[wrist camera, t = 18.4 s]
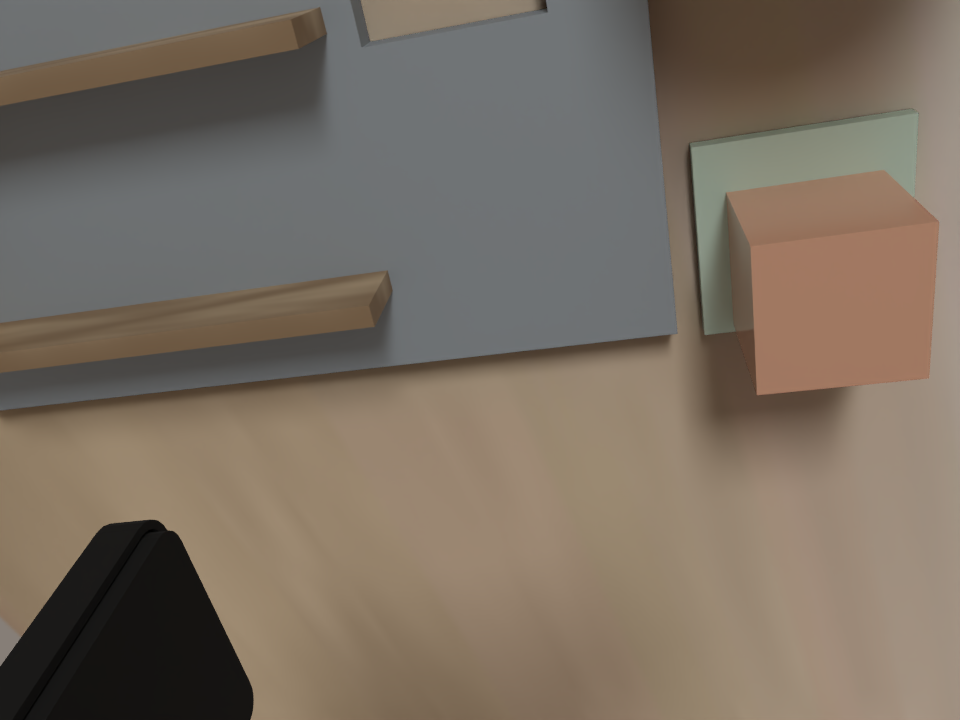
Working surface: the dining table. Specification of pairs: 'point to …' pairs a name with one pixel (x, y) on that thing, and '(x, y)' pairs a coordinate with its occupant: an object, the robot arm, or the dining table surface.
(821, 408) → the dining table surface
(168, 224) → the deck
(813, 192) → the cube
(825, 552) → the dining table surface
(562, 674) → the dining table surface
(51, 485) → the dining table surface
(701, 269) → the pad
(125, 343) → the frame
